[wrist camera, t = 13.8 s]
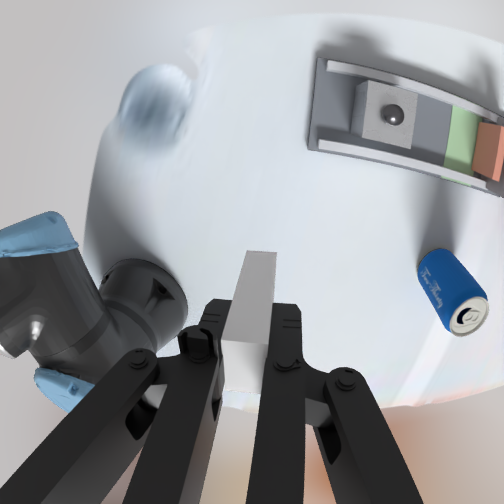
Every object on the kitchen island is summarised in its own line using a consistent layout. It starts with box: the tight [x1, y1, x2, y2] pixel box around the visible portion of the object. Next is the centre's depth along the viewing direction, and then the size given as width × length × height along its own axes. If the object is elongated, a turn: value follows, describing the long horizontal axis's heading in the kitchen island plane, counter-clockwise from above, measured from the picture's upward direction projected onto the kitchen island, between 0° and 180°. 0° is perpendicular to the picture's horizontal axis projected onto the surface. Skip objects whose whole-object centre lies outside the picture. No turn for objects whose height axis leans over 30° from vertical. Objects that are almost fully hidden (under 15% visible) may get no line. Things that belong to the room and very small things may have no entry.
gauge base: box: [308, 57, 504, 198], centre depth 25 cm, size 28×11×8 cm, turn 85°
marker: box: [471, 122, 504, 182], centre depth 24 cm, size 1×6×5 cm, turn 175°
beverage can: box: [418, 249, 489, 337], centre depth 31 cm, size 6×6×12 cm
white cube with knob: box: [350, 80, 418, 149], centre depth 25 cm, size 5×6×7 cm
